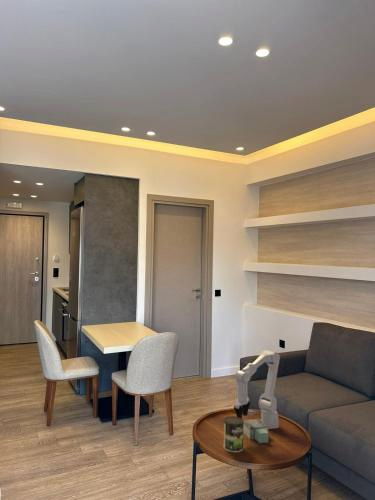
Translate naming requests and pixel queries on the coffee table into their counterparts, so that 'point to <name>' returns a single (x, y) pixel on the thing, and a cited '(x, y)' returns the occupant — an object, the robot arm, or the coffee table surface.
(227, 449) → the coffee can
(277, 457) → the coffee table surface
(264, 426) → the housing
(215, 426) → the coffee table surface
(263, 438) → the end cover
